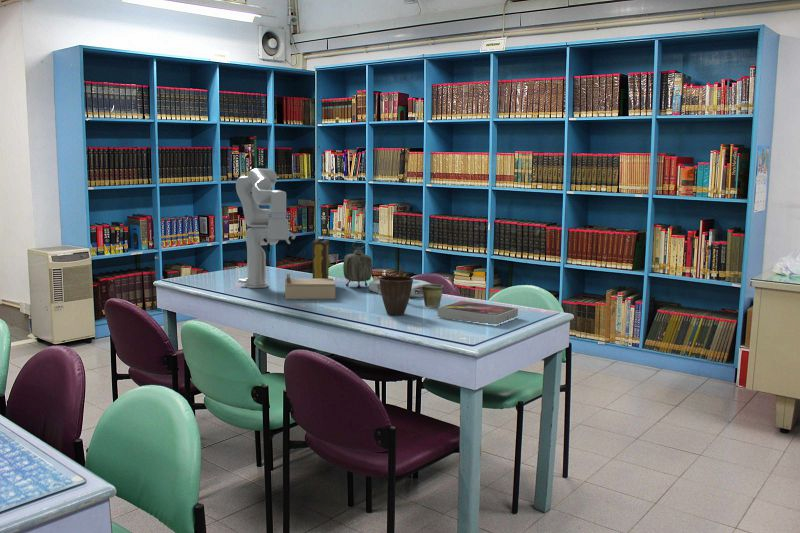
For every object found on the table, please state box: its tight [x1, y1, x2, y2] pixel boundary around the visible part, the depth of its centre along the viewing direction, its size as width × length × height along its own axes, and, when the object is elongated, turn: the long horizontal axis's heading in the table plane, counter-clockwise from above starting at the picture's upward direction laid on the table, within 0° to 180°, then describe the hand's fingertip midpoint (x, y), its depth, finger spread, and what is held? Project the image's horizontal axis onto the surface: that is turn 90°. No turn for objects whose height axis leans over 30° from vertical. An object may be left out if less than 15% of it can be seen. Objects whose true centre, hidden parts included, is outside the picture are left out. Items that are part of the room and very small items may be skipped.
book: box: [312, 238, 332, 279], centre depth 382 cm, size 22×8×25 cm, turn 179°
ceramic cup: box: [421, 283, 444, 309], centre depth 335 cm, size 13×10×10 cm
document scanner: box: [368, 278, 431, 298], centre depth 370 cm, size 21×28×6 cm
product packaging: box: [437, 300, 519, 324], centre depth 311 cm, size 22×28×5 cm
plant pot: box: [378, 275, 414, 316], centre depth 314 cm, size 15×15×16 cm
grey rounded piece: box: [342, 240, 373, 289], centre depth 383 cm, size 14×9×25 cm, turn 108°
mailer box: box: [284, 285, 336, 301], centre depth 353 cm, size 24×18×7 cm
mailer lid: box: [284, 273, 336, 287], centre depth 352 cm, size 24×18×4 cm
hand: (278, 251), depth 348 cm, fingers open, 8 cm apart
